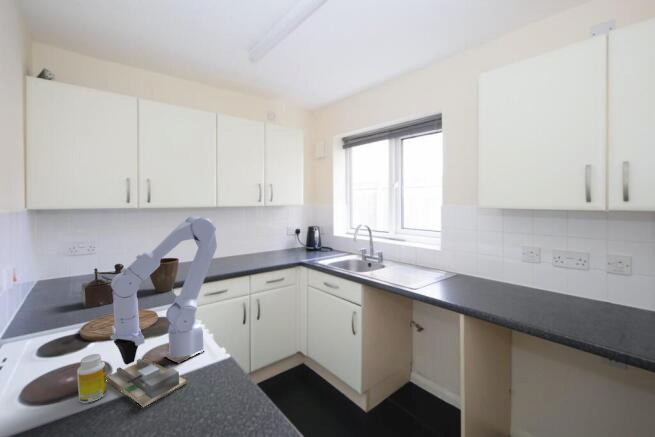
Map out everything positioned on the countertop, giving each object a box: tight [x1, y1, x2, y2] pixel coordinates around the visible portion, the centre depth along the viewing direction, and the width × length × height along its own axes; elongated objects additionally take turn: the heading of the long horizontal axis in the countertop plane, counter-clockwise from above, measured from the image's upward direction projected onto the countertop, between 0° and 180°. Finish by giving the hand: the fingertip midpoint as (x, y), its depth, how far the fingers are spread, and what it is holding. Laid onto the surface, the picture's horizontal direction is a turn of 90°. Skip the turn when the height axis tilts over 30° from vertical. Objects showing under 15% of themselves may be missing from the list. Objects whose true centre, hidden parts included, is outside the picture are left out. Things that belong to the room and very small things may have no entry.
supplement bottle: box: [76, 353, 108, 404], centre depth 77 cm, size 6×6×10 cm
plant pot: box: [149, 257, 180, 293], centre depth 163 cm, size 15×15×16 cm
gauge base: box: [106, 358, 187, 408], centre depth 83 cm, size 11×20×4 cm, turn 56°
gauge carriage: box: [128, 364, 160, 383], centre depth 80 cm, size 7×4×3 cm, turn 146°
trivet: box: [79, 309, 159, 342], centre depth 120 cm, size 25×25×2 cm
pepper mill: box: [81, 263, 125, 309], centre depth 145 cm, size 16×11×18 cm
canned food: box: [100, 275, 114, 292], centre depth 166 cm, size 11×10×10 cm
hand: (129, 362), depth 88 cm, fingers closed
